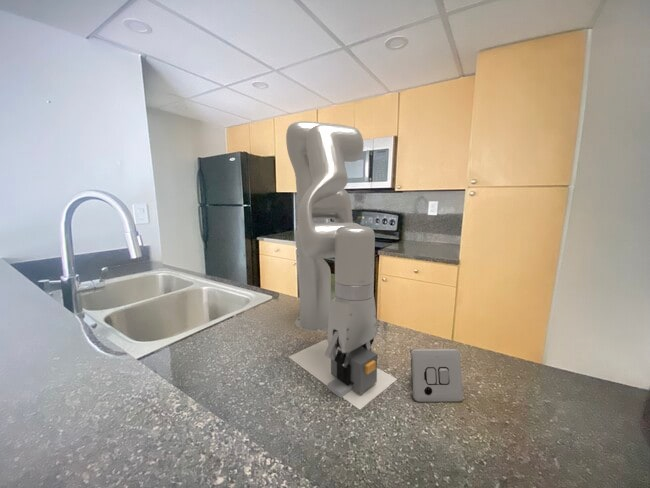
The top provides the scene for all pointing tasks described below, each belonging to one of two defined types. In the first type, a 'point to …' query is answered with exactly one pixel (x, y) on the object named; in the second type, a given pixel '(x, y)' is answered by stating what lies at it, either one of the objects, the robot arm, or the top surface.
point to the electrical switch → (436, 375)
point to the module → (360, 368)
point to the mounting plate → (321, 369)
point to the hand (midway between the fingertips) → (353, 374)
